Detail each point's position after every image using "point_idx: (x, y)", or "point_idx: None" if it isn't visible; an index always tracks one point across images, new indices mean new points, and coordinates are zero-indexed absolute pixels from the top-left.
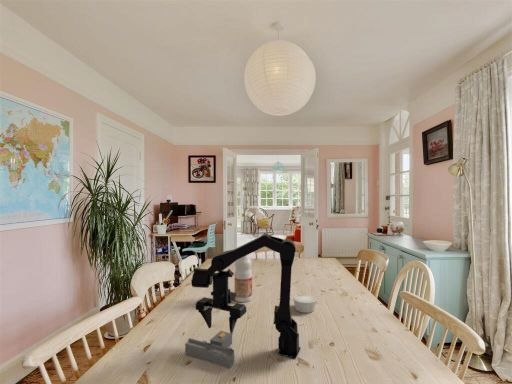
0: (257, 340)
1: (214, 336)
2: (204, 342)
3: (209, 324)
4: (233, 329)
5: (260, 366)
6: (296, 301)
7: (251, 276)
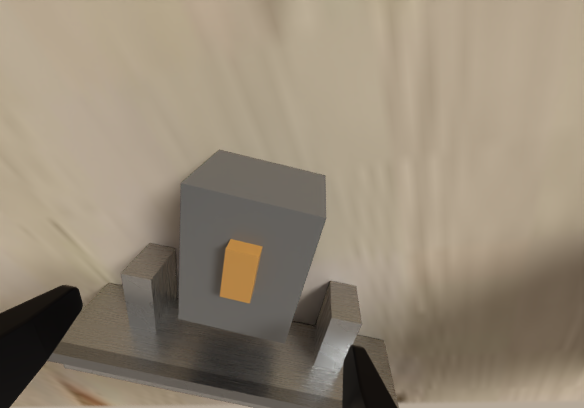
0: (580, 73)
1: (182, 280)
2: (172, 381)
3: (41, 357)
4: (379, 384)
5: (536, 346)
6: None
7: None
